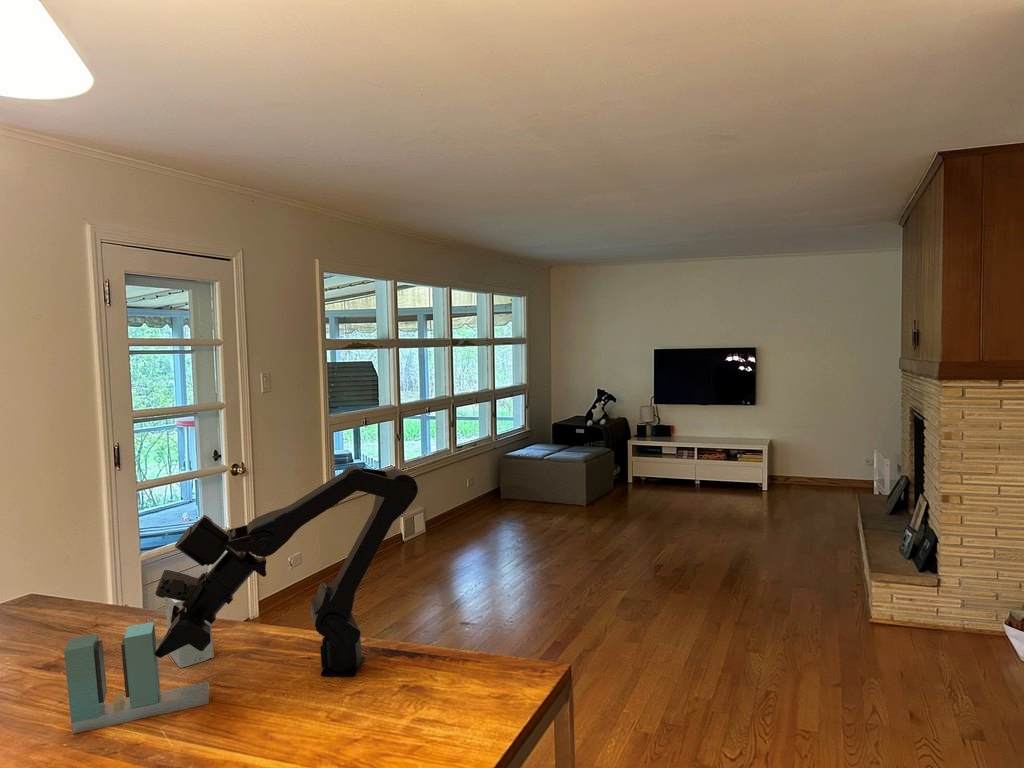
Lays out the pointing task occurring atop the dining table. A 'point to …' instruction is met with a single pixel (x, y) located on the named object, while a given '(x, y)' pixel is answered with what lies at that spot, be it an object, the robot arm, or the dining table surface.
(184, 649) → the small box
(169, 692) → the rail
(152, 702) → the tall teal pillar
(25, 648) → the dining table surface
